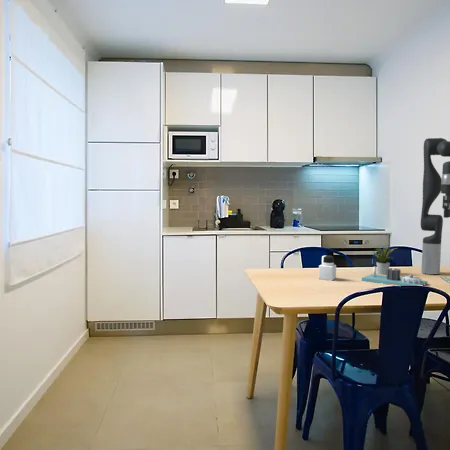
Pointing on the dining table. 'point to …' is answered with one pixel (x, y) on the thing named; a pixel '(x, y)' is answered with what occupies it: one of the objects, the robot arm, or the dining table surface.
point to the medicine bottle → (327, 268)
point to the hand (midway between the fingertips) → (448, 217)
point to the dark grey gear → (393, 274)
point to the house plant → (383, 260)
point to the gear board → (403, 280)
